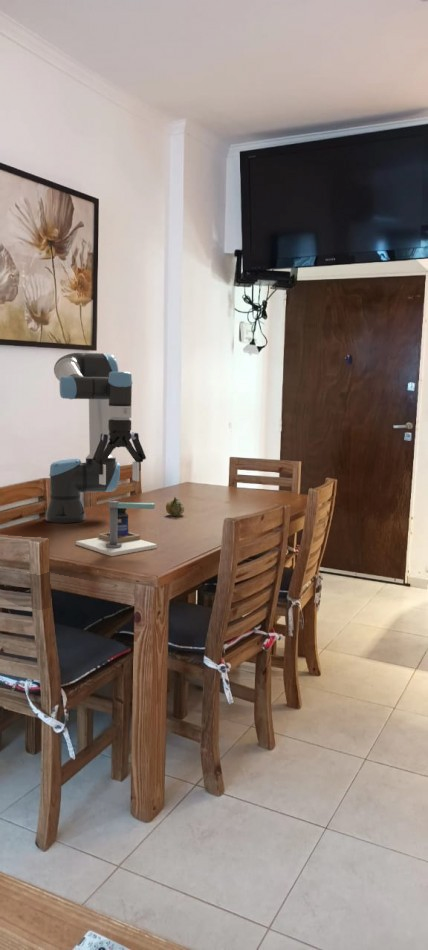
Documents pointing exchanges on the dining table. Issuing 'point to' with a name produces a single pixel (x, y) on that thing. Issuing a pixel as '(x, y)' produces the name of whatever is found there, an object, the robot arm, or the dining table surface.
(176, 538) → the dining table surface
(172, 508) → the onion
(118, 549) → the base board
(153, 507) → the keeper arm
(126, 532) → the pill bottle
